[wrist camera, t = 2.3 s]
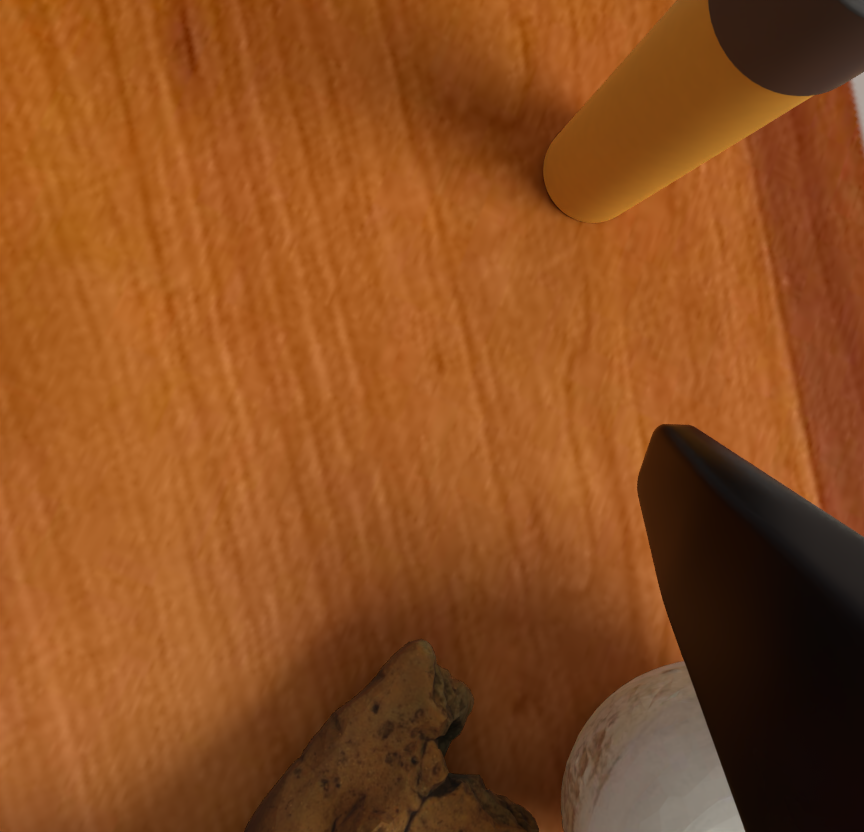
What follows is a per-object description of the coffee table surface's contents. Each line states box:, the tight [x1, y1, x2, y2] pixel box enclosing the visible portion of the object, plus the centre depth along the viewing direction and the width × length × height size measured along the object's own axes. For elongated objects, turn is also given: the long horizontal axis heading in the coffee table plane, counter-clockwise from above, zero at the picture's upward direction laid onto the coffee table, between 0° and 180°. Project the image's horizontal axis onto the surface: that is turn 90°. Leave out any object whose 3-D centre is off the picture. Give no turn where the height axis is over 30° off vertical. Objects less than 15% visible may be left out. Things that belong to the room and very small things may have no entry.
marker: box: [543, 0, 864, 223], centre depth 17 cm, size 3×3×12 cm
